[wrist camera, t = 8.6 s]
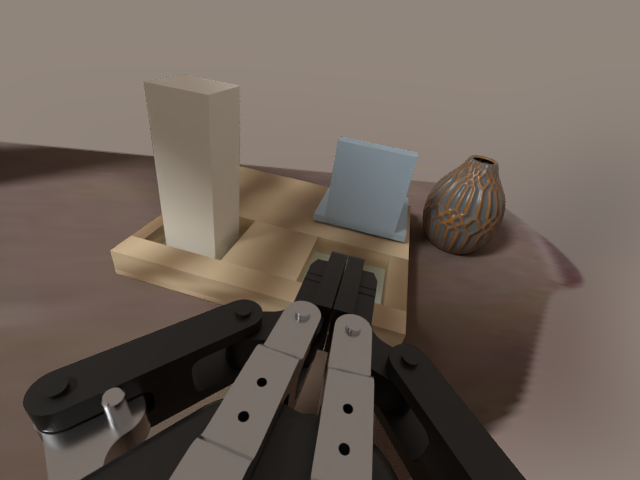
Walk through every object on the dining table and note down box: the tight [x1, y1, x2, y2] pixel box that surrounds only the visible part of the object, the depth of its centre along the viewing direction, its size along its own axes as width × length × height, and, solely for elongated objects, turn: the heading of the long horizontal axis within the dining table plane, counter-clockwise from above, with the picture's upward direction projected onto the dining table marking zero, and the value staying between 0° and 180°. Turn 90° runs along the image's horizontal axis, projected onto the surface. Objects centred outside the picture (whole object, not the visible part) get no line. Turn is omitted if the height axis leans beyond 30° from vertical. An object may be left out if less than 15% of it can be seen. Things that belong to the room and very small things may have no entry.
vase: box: [423, 155, 505, 254], centre depth 31 cm, size 7×7×9 cm
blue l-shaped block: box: [313, 136, 418, 242], centre depth 30 cm, size 8×8×7 cm
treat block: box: [144, 75, 240, 260], centre depth 24 cm, size 4×4×12 cm
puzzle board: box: [110, 166, 411, 347], centre depth 29 cm, size 20×18×2 cm
